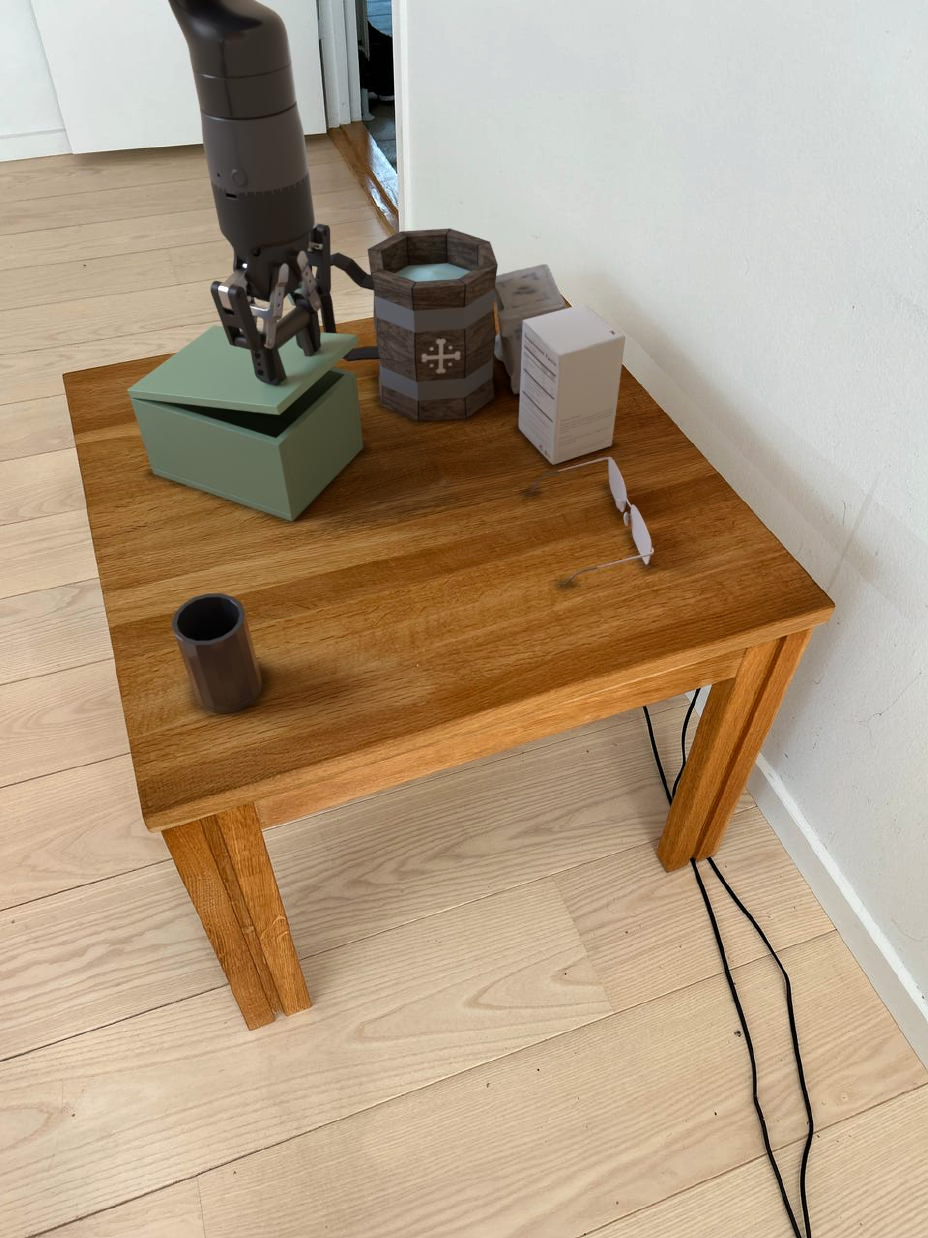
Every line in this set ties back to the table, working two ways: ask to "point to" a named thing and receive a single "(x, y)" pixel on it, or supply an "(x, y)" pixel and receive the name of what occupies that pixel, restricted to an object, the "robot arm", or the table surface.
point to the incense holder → (521, 311)
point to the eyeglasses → (620, 497)
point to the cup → (218, 652)
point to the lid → (244, 369)
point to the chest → (257, 445)
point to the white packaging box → (569, 382)
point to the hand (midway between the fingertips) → (290, 364)
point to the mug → (428, 321)
